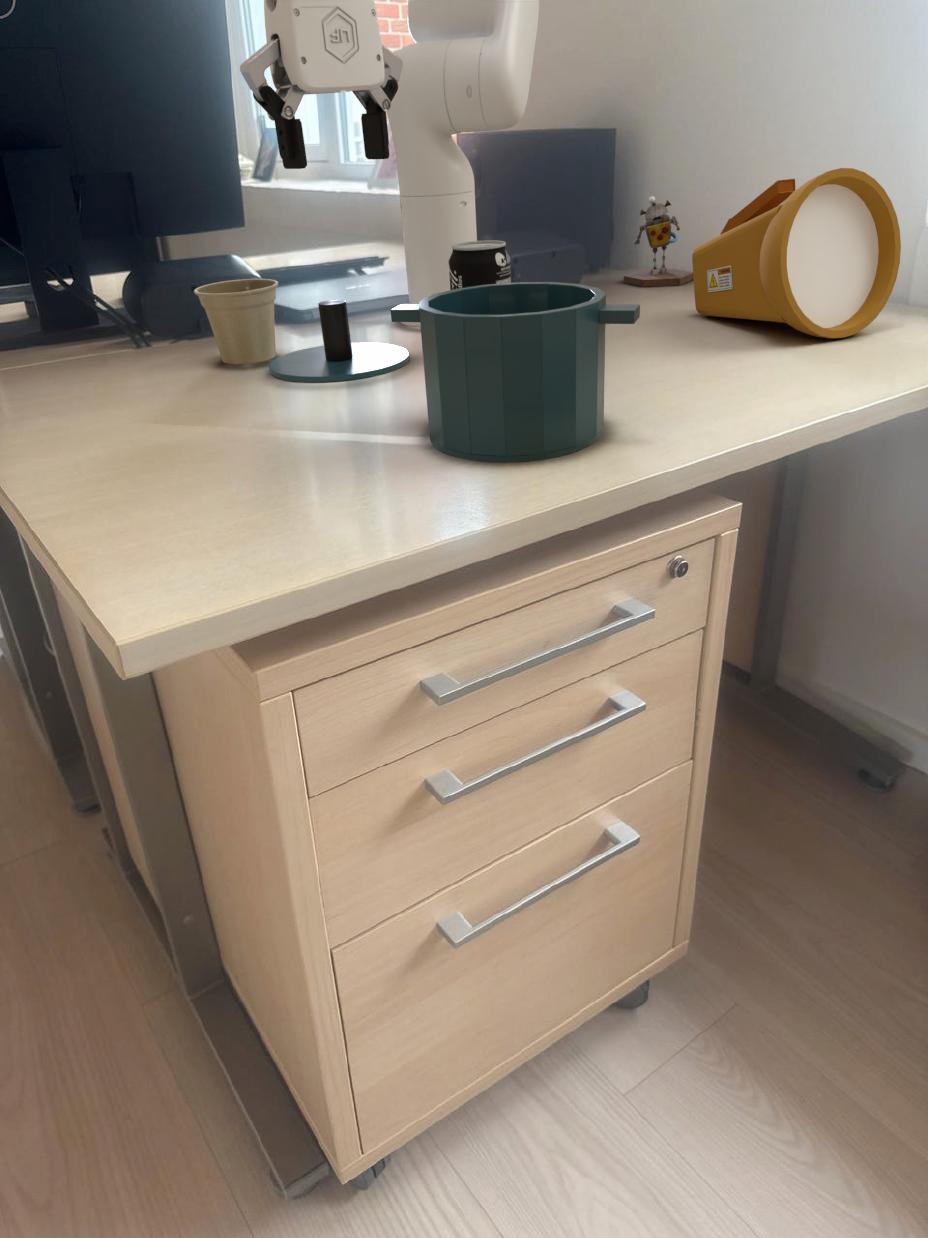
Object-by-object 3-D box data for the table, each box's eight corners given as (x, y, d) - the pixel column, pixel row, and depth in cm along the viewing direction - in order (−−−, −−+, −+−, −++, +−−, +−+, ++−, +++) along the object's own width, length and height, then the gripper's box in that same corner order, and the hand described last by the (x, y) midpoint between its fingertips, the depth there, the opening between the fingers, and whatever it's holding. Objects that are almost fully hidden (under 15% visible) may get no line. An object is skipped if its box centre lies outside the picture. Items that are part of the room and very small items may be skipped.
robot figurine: (692, 274, 139) (697, 190, 133) (700, 283, 131) (706, 195, 125) (621, 277, 141) (623, 194, 135) (625, 287, 133) (627, 199, 127)
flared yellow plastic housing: (902, 326, 99) (900, 154, 94) (785, 348, 93) (776, 167, 88) (776, 339, 117) (768, 196, 112) (671, 359, 111) (658, 209, 106)
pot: (436, 404, 84) (427, 282, 78) (647, 412, 77) (652, 280, 72) (373, 454, 72) (357, 315, 67) (615, 469, 66) (619, 317, 60)
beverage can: (446, 357, 100) (438, 244, 94) (498, 349, 102) (493, 237, 96) (469, 369, 95) (462, 249, 89) (523, 360, 97) (520, 242, 91)
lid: (311, 351, 107) (302, 289, 104) (430, 353, 102) (425, 288, 99) (243, 385, 94) (230, 316, 91) (375, 390, 90) (367, 317, 86)
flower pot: (271, 371, 99) (258, 291, 95) (195, 372, 101) (178, 294, 97) (301, 352, 107) (290, 277, 103) (230, 353, 109) (216, 279, 105)
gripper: (245, -71, 69) (282, 172, 78) (414, -61, 78) (430, 155, 87) (200, -55, 74) (239, 172, 83) (364, -47, 83) (384, 155, 92)
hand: (337, 163), depth 85 cm, fingers open, 9 cm apart
